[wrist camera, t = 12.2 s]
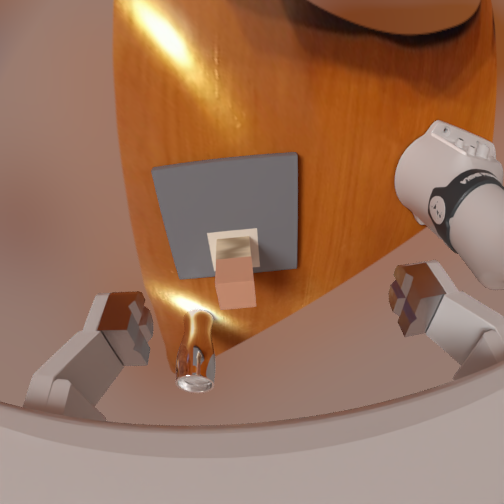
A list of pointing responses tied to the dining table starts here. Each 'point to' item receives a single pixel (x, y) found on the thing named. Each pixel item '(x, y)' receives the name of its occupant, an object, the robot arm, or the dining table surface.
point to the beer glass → (196, 353)
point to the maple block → (233, 247)
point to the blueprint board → (230, 210)
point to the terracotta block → (235, 283)
